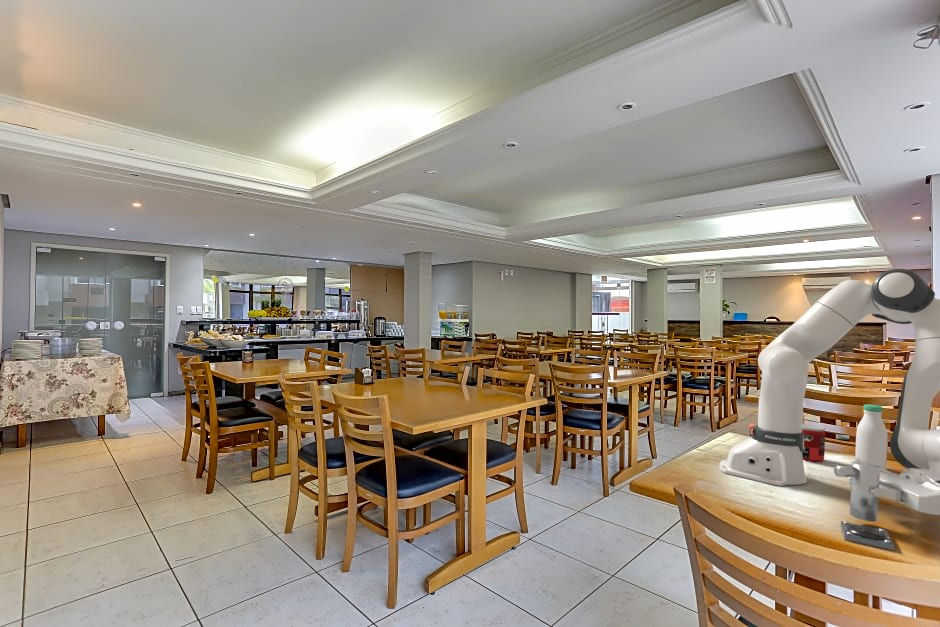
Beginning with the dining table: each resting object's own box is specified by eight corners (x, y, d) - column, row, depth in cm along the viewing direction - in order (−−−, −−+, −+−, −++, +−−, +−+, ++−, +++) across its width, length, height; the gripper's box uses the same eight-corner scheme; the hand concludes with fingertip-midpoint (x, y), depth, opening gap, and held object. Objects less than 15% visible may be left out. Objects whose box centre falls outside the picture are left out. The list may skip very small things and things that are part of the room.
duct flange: (844, 540, 103) (845, 533, 103) (840, 526, 110) (840, 519, 110) (893, 550, 99) (894, 543, 99) (886, 535, 106) (886, 529, 106)
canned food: (790, 454, 165) (791, 423, 165) (815, 456, 164) (816, 424, 164) (802, 462, 157) (803, 428, 157) (829, 463, 156) (830, 430, 156)
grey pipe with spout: (865, 512, 113) (867, 461, 113) (883, 521, 108) (886, 469, 108) (827, 510, 114) (830, 460, 113) (843, 520, 109) (846, 467, 108)
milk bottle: (886, 474, 147) (888, 409, 147) (854, 467, 153) (856, 405, 152) (886, 468, 153) (889, 405, 153) (855, 462, 158) (858, 402, 158)
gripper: (883, 460, 121) (828, 458, 121) (966, 492, 101) (900, 489, 101) (882, 484, 121) (827, 482, 121) (965, 521, 101) (898, 519, 101)
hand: (860, 486), depth 111 cm, fingers closed on grey pipe with spout, 5 cm apart
